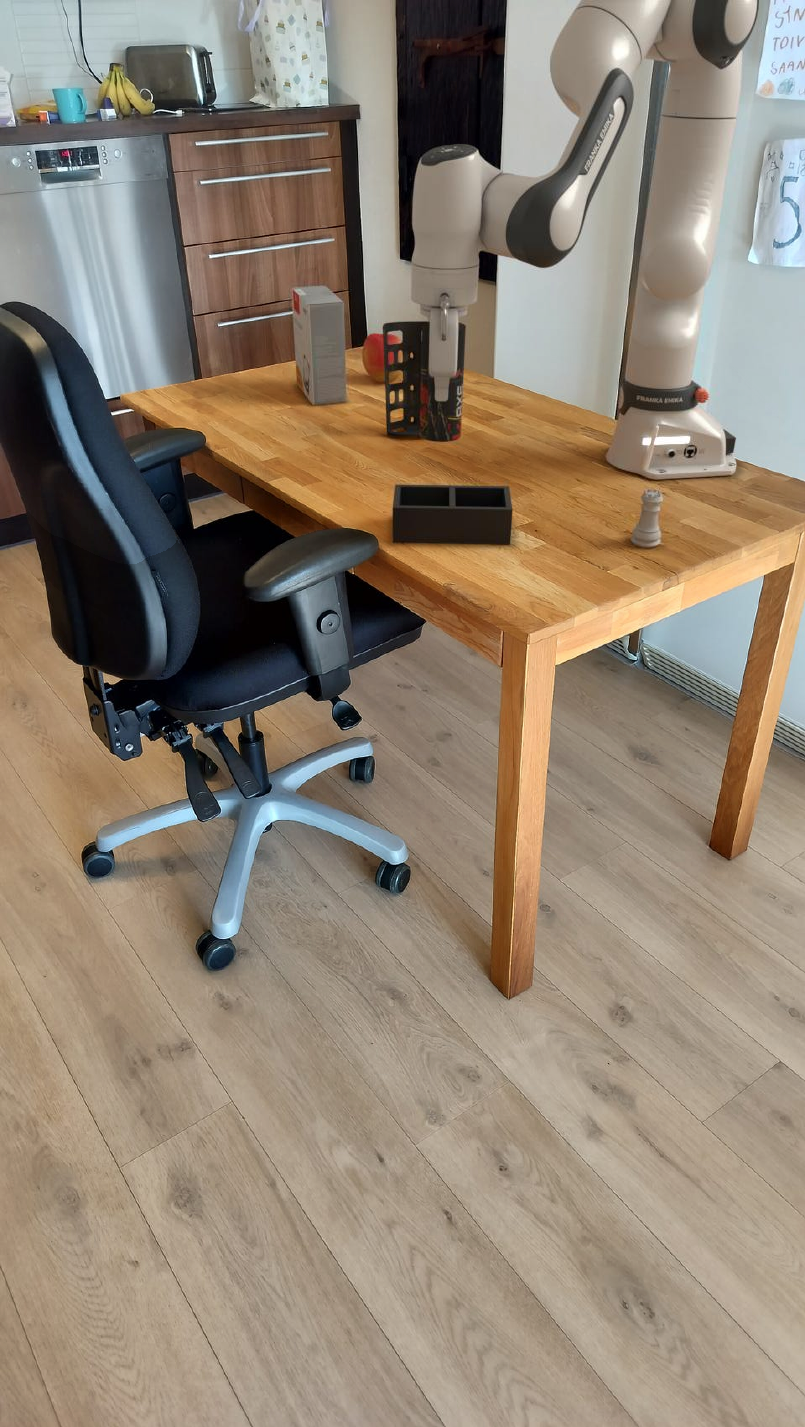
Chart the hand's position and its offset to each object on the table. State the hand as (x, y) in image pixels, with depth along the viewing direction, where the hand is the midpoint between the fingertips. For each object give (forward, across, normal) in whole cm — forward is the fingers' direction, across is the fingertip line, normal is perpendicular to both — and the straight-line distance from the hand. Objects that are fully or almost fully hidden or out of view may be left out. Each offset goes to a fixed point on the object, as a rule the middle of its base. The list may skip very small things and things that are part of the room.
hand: (441, 392), depth 139 cm
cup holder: (+21, 0, -2) cm, 21 cm away
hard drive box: (+22, +71, +24) cm, 78 cm away
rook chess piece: (+21, -3, -31) cm, 38 cm away
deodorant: (+6, 0, 0) cm, 6 cm away
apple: (+22, +81, +12) cm, 84 cm away
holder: (+22, +46, +5) cm, 51 cm away
